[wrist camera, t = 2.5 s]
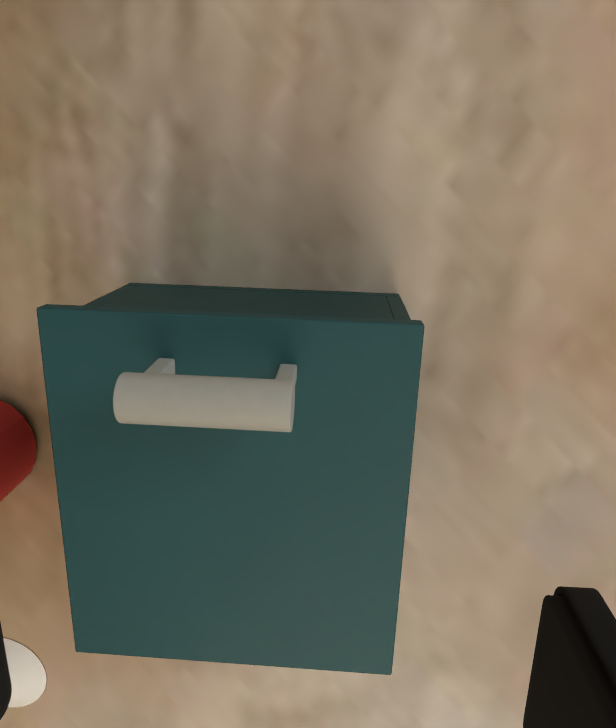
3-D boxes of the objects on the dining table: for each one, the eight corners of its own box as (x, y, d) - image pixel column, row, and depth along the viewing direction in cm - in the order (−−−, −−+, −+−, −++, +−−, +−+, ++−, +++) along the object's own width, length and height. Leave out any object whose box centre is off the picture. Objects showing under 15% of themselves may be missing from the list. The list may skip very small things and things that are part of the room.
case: (129, 282, 34) (47, 322, 25) (399, 293, 33) (420, 339, 24) (145, 529, 39) (82, 639, 30) (379, 543, 38) (390, 661, 29)
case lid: (45, 303, 24) (-36, 337, 19) (422, 320, 23) (443, 359, 18) (82, 640, 30) (26, 737, 24) (390, 662, 29) (400, 767, 24)
